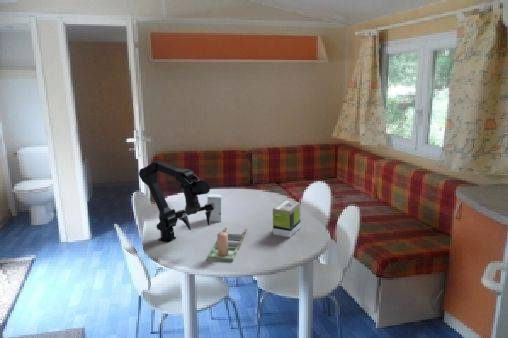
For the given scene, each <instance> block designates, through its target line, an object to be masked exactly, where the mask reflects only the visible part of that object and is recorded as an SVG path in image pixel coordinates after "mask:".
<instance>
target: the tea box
mask: <svg viewBox="0 0 508 338" xmlns="http://www.w3.org/2000/svg"><path fill="white" fill-rule="evenodd" d="M301 213H302V212H301V202H299V201H298V202H297V201H292V200H286V199H285V200H283V201H281V202H280V203H279V204H278V205H276V206H275V207H273V208H272V234H273V235H275V236H279V237H280V236H281V237H284V238H291V237H292V236H293V235H294V234H295V233H297V231H298V230H299V229H300V228H301V224H302V221H301V220H302V219H301Z"/></svg>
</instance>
